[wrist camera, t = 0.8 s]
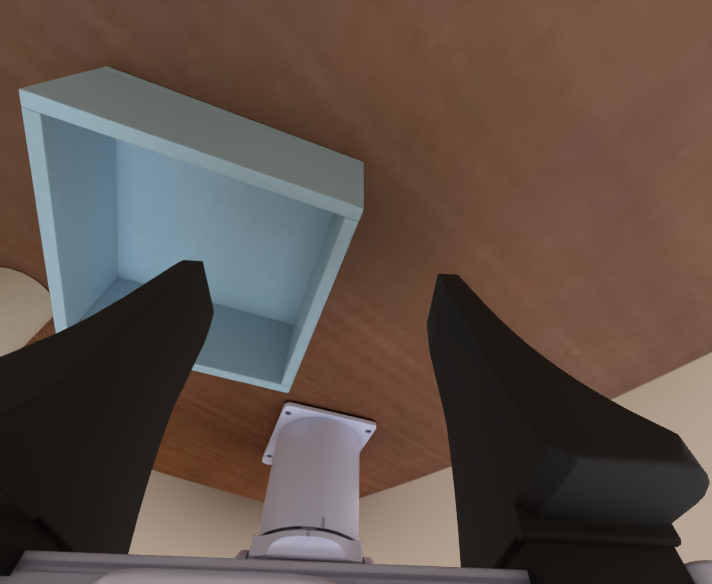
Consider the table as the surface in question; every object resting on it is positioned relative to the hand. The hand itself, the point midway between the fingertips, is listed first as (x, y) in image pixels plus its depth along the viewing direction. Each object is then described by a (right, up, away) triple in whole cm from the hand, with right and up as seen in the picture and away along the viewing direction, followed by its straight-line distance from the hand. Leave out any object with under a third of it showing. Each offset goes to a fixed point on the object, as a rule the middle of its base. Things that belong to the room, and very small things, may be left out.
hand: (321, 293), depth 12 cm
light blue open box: (-6, +4, +10) cm, 12 cm away
